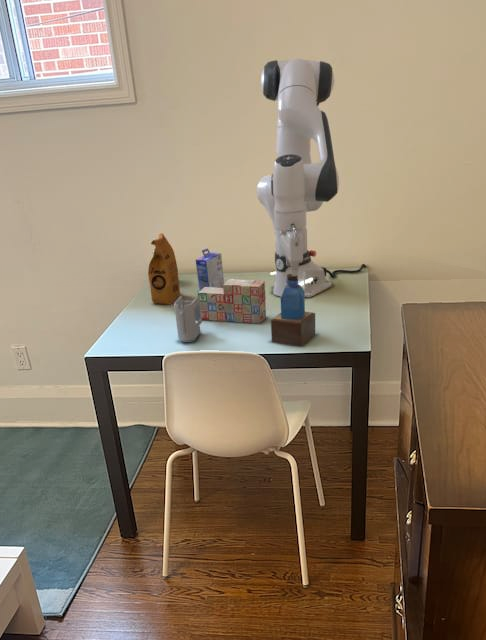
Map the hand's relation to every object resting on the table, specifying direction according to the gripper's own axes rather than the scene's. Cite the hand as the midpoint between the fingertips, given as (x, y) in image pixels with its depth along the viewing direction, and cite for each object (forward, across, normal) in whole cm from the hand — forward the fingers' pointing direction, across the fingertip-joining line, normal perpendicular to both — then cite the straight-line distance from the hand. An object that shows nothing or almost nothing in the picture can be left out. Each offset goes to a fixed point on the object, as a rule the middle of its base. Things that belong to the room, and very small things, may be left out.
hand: (292, 270), depth 193 cm
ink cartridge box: (+21, +56, +23) cm, 64 cm away
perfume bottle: (+14, 0, 0) cm, 14 cm away
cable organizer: (+21, +9, +32) cm, 39 cm away
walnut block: (+21, 0, 0) cm, 21 cm away
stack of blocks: (+21, +22, +17) cm, 35 cm away
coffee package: (+21, +49, +40) cm, 66 cm away
